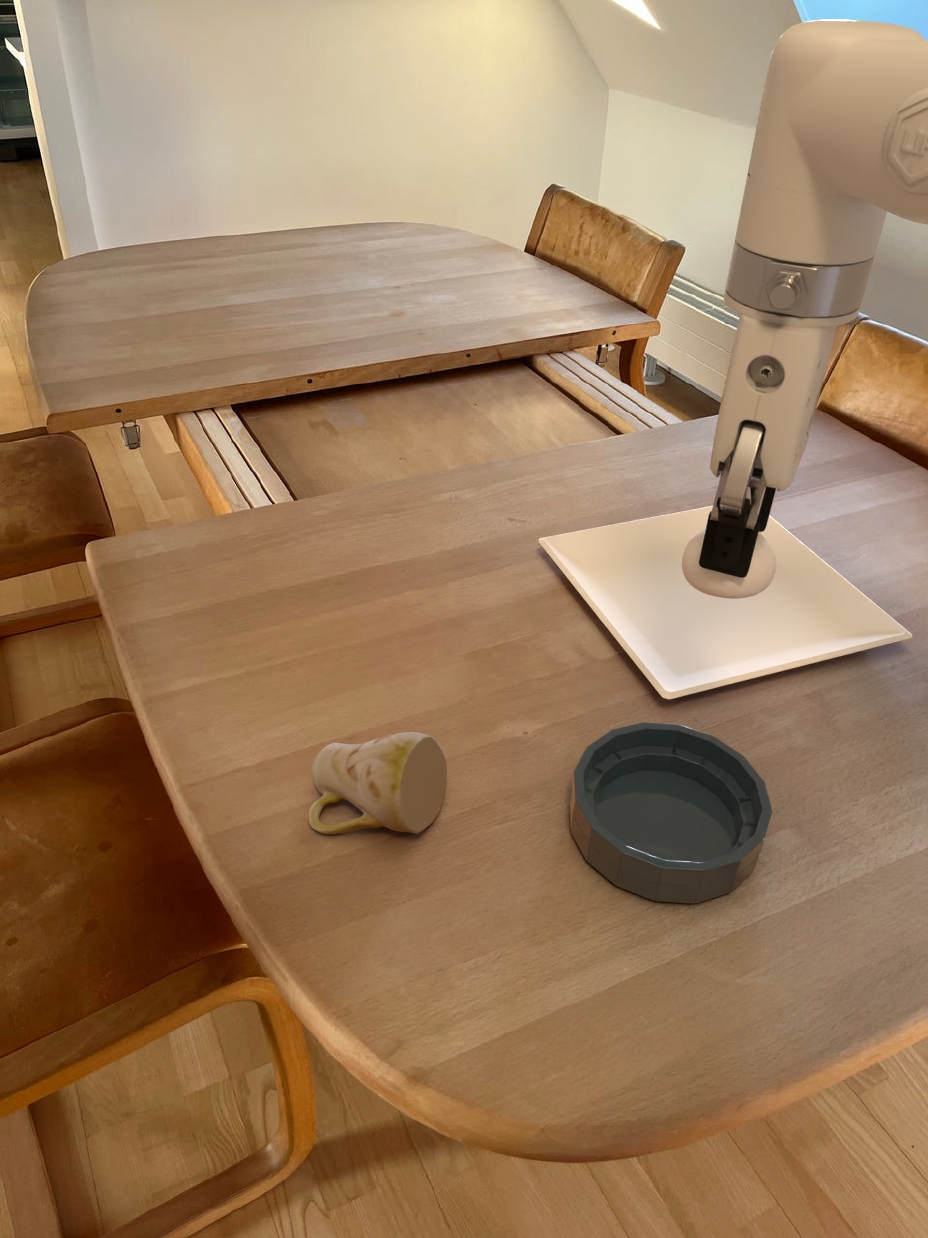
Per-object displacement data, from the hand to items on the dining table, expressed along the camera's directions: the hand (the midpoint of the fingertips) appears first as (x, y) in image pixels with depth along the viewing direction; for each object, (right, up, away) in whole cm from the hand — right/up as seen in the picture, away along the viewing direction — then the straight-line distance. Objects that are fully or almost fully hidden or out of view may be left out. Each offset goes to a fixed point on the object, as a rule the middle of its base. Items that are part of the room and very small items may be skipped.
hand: (733, 545), depth 64 cm
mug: (-25, -19, +6) cm, 32 cm away
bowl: (-4, -20, +5) cm, 21 cm away
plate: (+6, -3, +28) cm, 29 cm away
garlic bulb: (0, -3, +2) cm, 3 cm away
